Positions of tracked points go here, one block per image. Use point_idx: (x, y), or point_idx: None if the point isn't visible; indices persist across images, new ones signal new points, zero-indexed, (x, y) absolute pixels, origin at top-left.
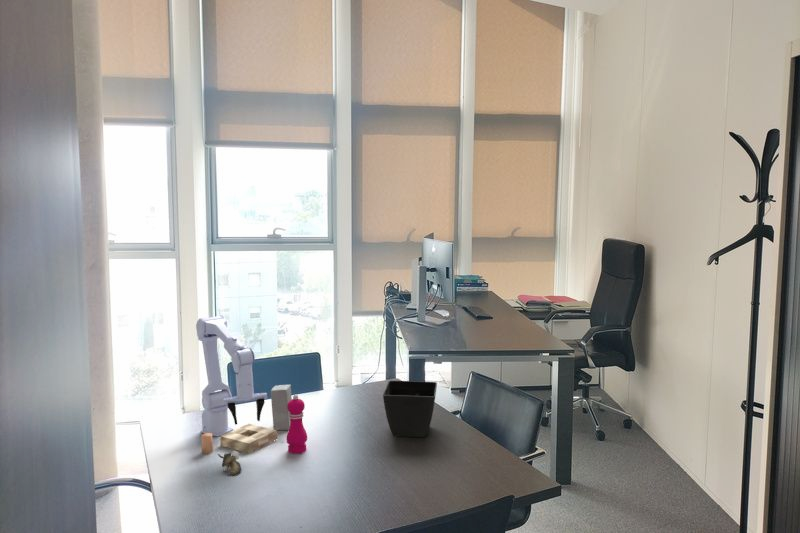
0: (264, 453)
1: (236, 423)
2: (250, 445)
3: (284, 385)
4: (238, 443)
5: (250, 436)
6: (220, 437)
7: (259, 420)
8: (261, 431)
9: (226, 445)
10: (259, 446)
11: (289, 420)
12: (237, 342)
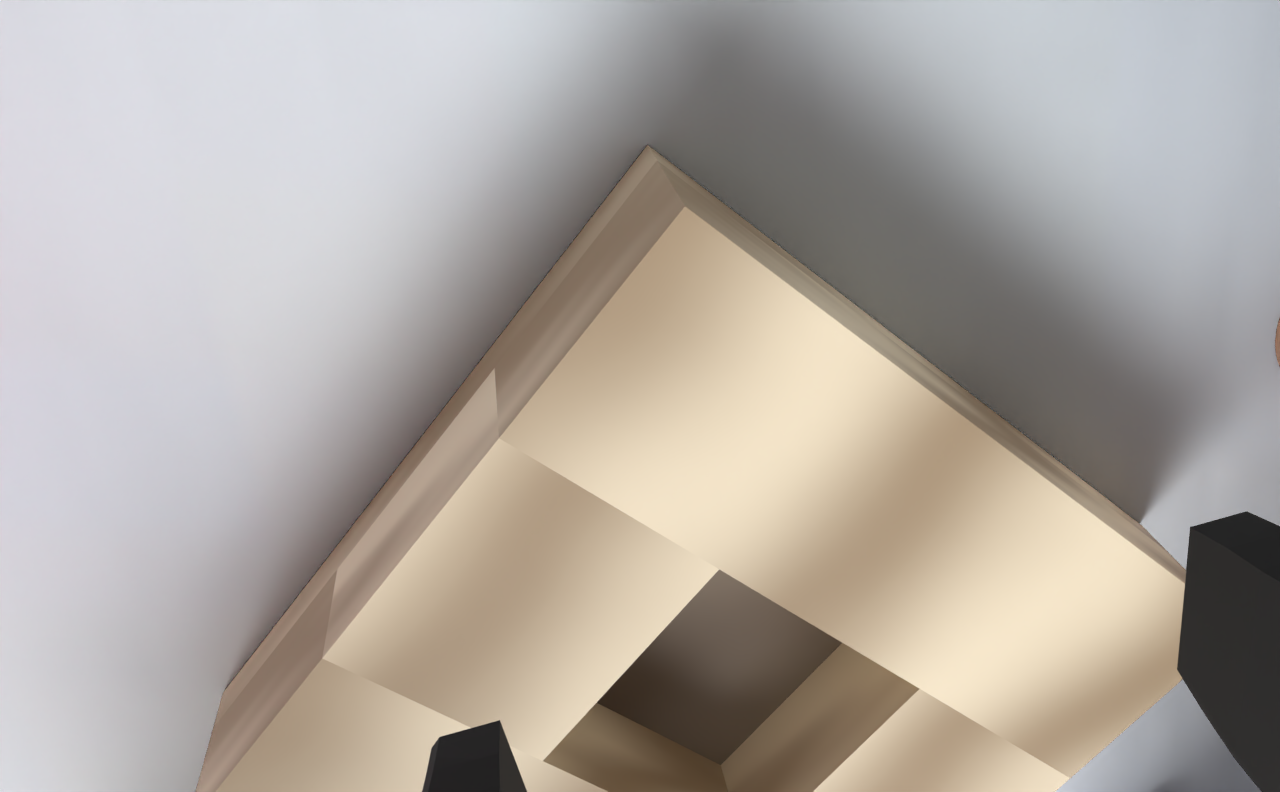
0: (322, 92)
1: (1237, 535)
2: (644, 220)
3: None
4: (904, 360)
5: (687, 578)
6: None
7: (438, 747)
8: None
9: (1071, 475)
10: (478, 378)
11: None
12: None
